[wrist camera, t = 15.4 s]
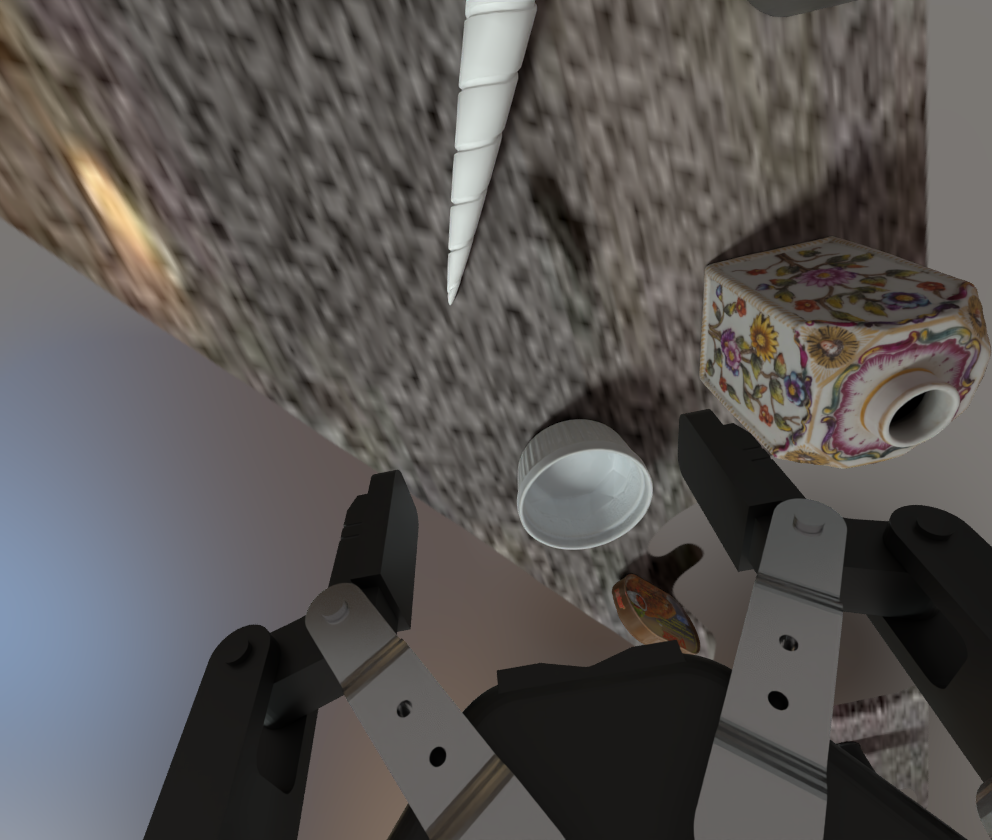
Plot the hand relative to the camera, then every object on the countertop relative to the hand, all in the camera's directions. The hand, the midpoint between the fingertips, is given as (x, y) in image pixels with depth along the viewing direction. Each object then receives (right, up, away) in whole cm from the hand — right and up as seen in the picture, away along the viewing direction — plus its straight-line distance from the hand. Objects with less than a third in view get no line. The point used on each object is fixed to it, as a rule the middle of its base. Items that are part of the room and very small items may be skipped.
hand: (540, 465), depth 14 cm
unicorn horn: (-2, +22, +21) cm, 30 cm away
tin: (+19, -22, +52) cm, 60 cm away
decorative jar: (+23, +11, +31) cm, 40 cm away
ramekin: (+7, -3, +38) cm, 39 cm away
